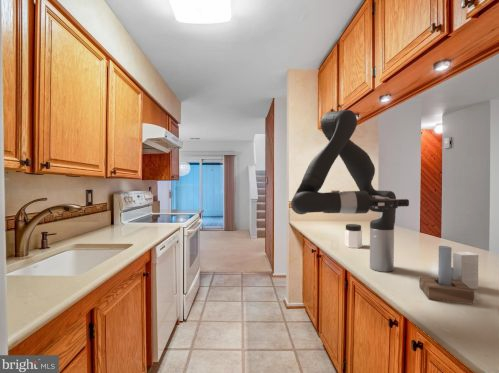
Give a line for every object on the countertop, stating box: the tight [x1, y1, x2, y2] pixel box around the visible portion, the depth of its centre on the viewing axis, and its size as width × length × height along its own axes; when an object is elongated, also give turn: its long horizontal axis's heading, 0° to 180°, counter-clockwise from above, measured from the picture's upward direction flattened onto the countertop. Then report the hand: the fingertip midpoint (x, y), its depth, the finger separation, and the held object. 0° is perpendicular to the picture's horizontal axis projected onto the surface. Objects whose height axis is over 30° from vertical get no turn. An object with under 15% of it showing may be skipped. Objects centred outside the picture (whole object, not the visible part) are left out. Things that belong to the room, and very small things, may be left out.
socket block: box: [418, 275, 475, 305], centre depth 90 cm, size 10×12×4 cm
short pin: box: [451, 266, 454, 279], centre depth 96 cm, size 3×3×7 cm
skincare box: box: [452, 251, 479, 290], centre depth 96 cm, size 6×4×12 cm
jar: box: [344, 223, 363, 249], centre depth 153 cm, size 9×8×12 cm
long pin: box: [437, 245, 453, 286], centre depth 90 cm, size 3×3×16 cm
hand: (401, 201), depth 90 cm, fingers open, 8 cm apart
